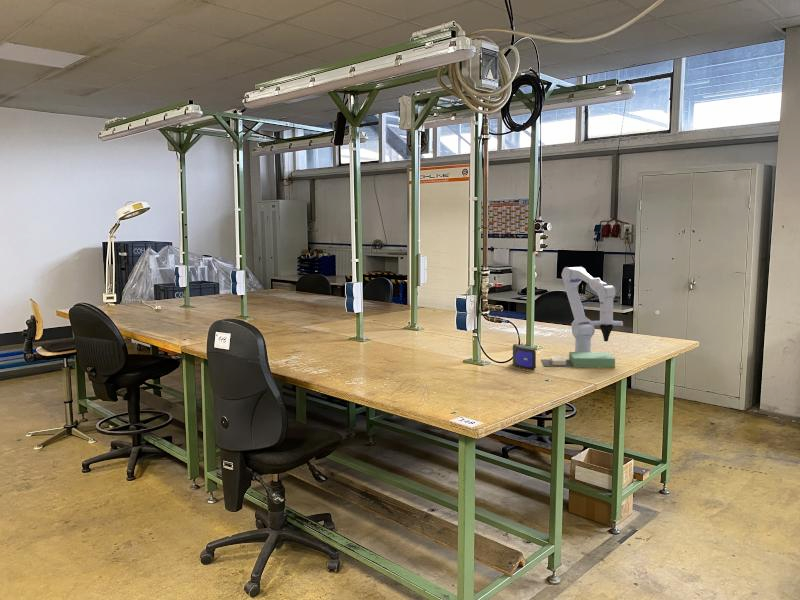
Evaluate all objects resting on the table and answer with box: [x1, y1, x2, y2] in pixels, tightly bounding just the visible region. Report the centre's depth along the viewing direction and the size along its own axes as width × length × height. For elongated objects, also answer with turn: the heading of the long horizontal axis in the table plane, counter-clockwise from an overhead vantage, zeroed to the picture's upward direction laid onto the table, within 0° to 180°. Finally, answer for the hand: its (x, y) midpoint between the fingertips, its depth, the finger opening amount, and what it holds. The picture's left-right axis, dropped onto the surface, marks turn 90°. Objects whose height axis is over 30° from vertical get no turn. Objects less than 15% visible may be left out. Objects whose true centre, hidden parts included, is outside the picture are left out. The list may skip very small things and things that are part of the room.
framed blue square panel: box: [512, 343, 537, 371], centre depth 277 cm, size 16×5×9 cm, turn 23°
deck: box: [568, 351, 616, 368], centre depth 281 cm, size 14×18×4 cm
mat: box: [540, 358, 574, 368], centre depth 283 cm, size 14×13×1 cm
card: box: [549, 356, 567, 365], centre depth 283 cm, size 9×6×2 cm, turn 173°
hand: (605, 341), depth 283 cm, fingers closed
